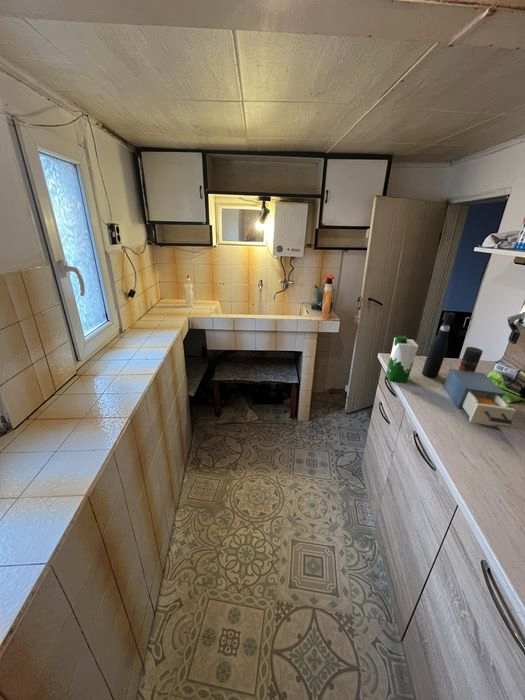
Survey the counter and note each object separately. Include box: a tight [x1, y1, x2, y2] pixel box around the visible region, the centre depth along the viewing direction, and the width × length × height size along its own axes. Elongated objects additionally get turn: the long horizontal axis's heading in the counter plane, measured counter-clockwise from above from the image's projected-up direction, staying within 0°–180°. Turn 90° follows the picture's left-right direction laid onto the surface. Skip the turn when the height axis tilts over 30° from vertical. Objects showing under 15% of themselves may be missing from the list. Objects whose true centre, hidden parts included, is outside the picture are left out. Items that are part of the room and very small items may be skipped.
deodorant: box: [457, 346, 484, 372], centre depth 125 cm, size 6×6×15 cm
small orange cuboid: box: [477, 398, 496, 406], centre depth 101 cm, size 4×4×4 cm
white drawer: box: [461, 390, 517, 427], centre depth 100 cm, size 19×11×7 cm, turn 167°
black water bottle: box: [421, 311, 456, 379], centre depth 124 cm, size 6×6×30 cm
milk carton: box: [386, 334, 420, 384], centre depth 122 cm, size 9×9×20 cm
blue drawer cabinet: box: [443, 368, 505, 410], centre depth 111 cm, size 16×13×9 cm
